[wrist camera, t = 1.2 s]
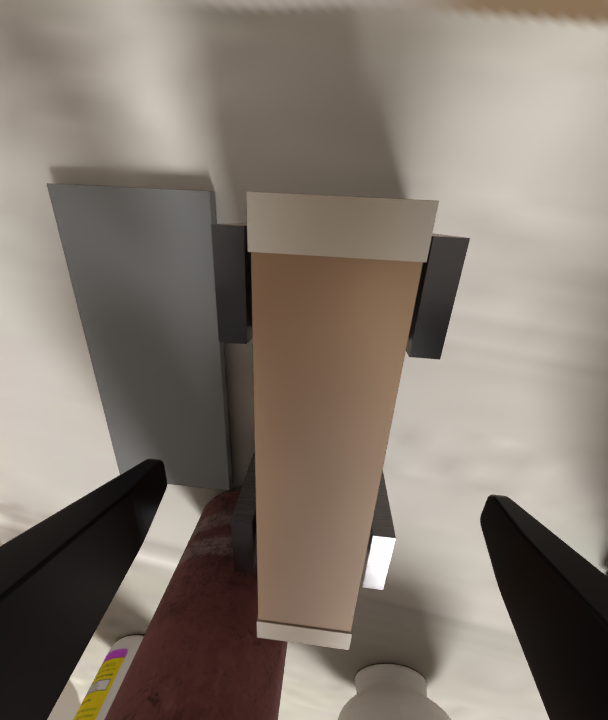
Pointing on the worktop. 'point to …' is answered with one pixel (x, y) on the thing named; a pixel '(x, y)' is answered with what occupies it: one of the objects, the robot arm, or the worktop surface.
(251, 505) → the post
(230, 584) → the can
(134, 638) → the supplement bottle
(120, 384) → the mat
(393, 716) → the teacup
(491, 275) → the worktop surface
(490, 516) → the robot arm
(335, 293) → the rail
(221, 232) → the post
